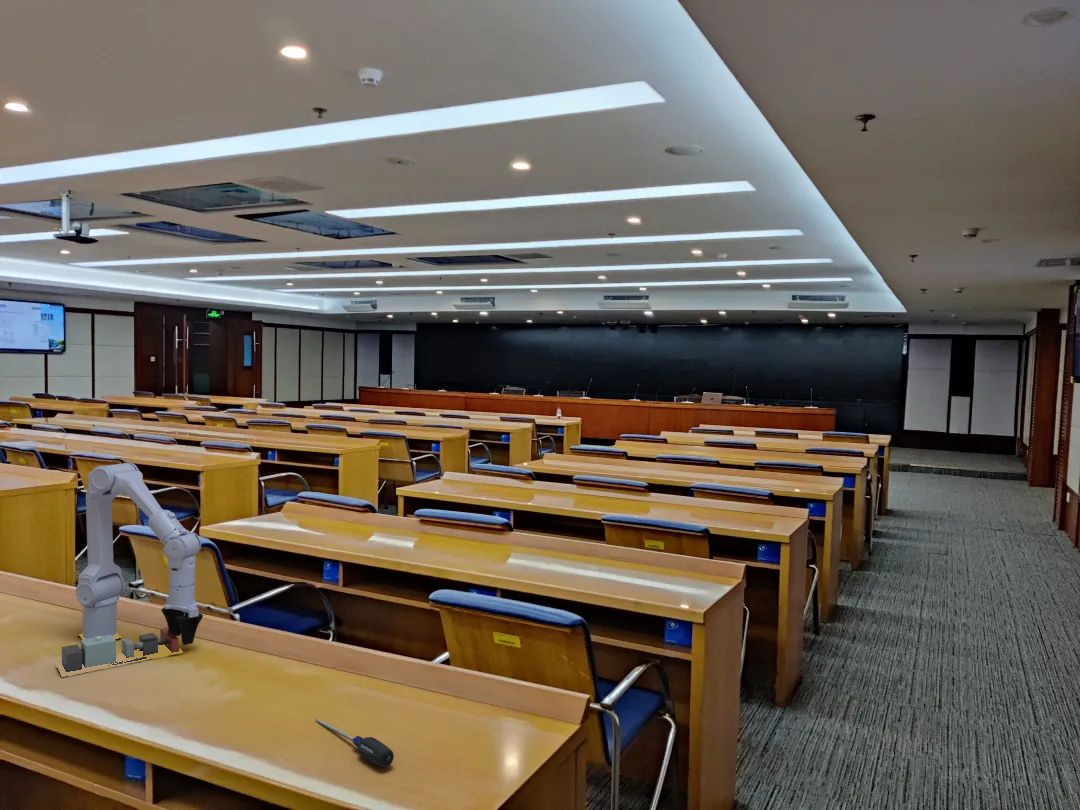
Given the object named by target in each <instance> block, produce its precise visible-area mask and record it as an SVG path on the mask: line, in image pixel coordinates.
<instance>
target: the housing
mask: <svg viewBox="0 0 1080 810" xmlns="http://www.w3.org/2000/svg"><path fill="white" fill-rule="evenodd" d="M80 649H81V650H82V664H83V665H84V667H85V668H87V667H92V666H98V665H103V664H109V663H114V662H116V653H117V640H115V639H114V638H113V637H112V635H106V636H96V637H95V638H89V639H84V640H81V639H80Z"/></svg>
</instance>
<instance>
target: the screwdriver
mask: <svg viewBox="0 0 1080 810" xmlns="http://www.w3.org/2000/svg"><path fill="white" fill-rule="evenodd" d="M314 722H315V723H317V724H318V725H322V726H323V727H324V728H327V729H328V730H329V731H332V732H334V733H336V734H338V735H340V736H342V737H343V738H346V739H347V740H348V741H351V742H352V744H353V745H354V746H355V747H357V752H358V754H359V755H360V757H361V758H362V759H364V761H367V762H369V763H371V764H373V765H376V766H378V767H382V768H387V767H389V766H390V765H391V764H392V763H393V761H394V757H395V756H394V752H393V750H392V749H391V748H389V747H388V746H387V745H386V744H384V743H383V742H382V741H380V740H378V739H377V738H375V737H372V736H367V737H364V738H363V737H362V736H361V735H360V736H359V735H355V737H354V736H352V735H350V734H349V733H346V732H345V731H343V730H340V729H338V728H336V727H335V726H333V725H331V724H328V723H327V722H325V721H323V720H321V719H319V718H314Z"/></svg>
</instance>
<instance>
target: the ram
mask: <svg viewBox="0 0 1080 810" xmlns="http://www.w3.org/2000/svg"><path fill="white" fill-rule="evenodd" d="M159 632H160V634H159V635H160V636H159V637H158V645H163V644H164V645H165V646H166V647H167V648H168V649H169V650H170V651H171V652H172V653H173V652H178V651H179V647H180V646H179V644H180V643H179V642H180V641H179V637H178V636H175V635H174V634H173V633H172V632H171V631H170V630H169V629H168V627H164V628H160V629H159ZM142 648H143V641H142V642H139V641H138V642H133V640H132V639H130V637H125V638H121V652H122V653H123V654H124V655H125V656H126V658H129V657H134V650H137V649H142Z"/></svg>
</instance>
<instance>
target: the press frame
mask: <svg viewBox="0 0 1080 810" xmlns="http://www.w3.org/2000/svg"><path fill="white" fill-rule="evenodd" d="M158 638H159V637H158V636H157V635H156V634H155V633H154V632H149V633H145V634H140V635H139V639H138V640H139V641H138V642H142V641H143V648H142V649H139V651H143V656H145V655H150V654H154V653H158ZM146 658H147V657H142V658H139V659H138V658H136V659H134V660H131V661H126V662H132V661H138V660H142V659H146ZM126 662H124V663H126ZM61 663H62V665H63V667H64V669H65V671H66V672H70V671H76V670H81V669H82V650H81V646H79V644H78V643H77V644H71V645H66V646H61ZM115 663H117V664H122V663H123V661H122V662H119V663H118V662H115ZM110 664H112V663H110ZM117 664H114V663H113V664H112V665H117ZM108 666H109V665H108Z"/></svg>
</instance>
